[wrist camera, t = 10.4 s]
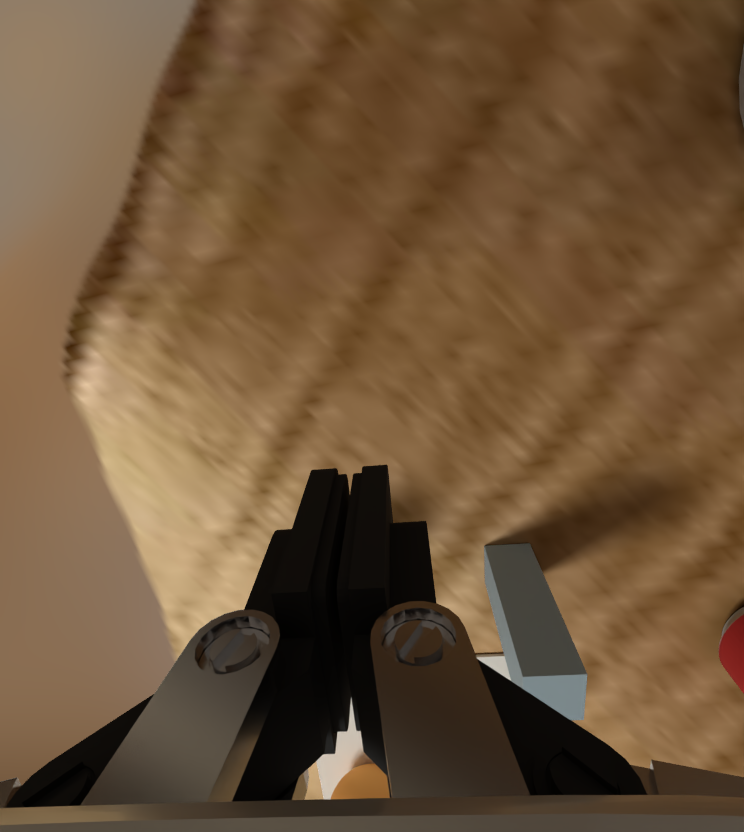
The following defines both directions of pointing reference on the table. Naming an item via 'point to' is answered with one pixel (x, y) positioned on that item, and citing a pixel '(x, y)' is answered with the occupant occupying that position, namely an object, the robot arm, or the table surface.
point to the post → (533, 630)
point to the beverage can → (733, 647)
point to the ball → (362, 784)
